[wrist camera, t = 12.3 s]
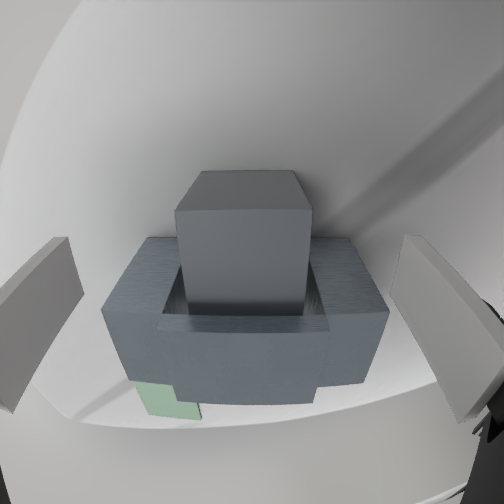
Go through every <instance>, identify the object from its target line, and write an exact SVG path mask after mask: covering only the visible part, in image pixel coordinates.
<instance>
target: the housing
mask: <svg viewBox="0 0 504 504" xmlns="http://www.w3.org/2000/svg"><path fill="white" fill-rule="evenodd" d="M101 311H102V314H103V317H104V320H105V322H106V325H107V328H108V330H109V333H110V336H111V338H112V341H113V343H114V346H115V348H116V351H117V353H118V356H119V358H120V360H121V363H122V365H123V367H124V370H125V372H126V374H127V376H128V379H129V380H131V381H138V382H146V383H155V384H164V385H172V386H173V389H174V392H175V395H176V398H177V401H180V402H192V403H207V404H229V405H283V404H305V403H313V400H314V396H315V393H316V389H317V387H327V386H339V385H349V384H359V383H363V382H364V380H365V377H366V375H367V373H368V370H369V368H370V365H371V363H372V360H373V358H374V355H375V353H376V350H377V347H378V345H379V342H380V339H381V337H382V334H383V331H384V328H385V325H386V322H387V319H388V316H389V313H390V311H389V309H388V307H387V305H386V303H385V301H384V299H383V298H382V296H381V294H380V292H379V290H378V288H377V287H376V285H375V283H374V281H373V279H372V278H371V276H370V274H369V272H368V271H367V269H366V267H365V266H364V264H363V262H362V260H361V259H360V257H359V255H358V254H357V252H356V250H355V249H354V247H353V245H352V244H351V242H350V240H349V239H348V238H311V239H310V250H309V262H308V272H307V282H306V292H305V301H304V310H303V316H213V315H189V311H188V305H187V299H186V293H185V286H184V280H183V273H182V266H181V260H180V252H179V245H178V237H161V238H146V240H145V241H144V243H143V244H142V246H141V247H140V249H139V250H138V252H137V253H136V255H135V256H134V258H133V259H132V261H131V262H130V264H129V265H128V267H127V268H126V270H125V271H124V273H123V274H122V276H121V278H120V279H119V281H118V282H117V284H116V285H115V287H114V289H113V290H112V292H111V294H110V295H109V297H108V298H107V300H106V302H105V303H104V305H103V307H102V308H101Z"/></svg>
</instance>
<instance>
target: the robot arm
mask: <svg viewBox="0 0 504 504" xmlns="http://www.w3.org/2000/svg"><path fill="white" fill-rule="evenodd" d="M83 295H84V291H83V288H82V285H81V282H80V279H79V275H78V272H77V269H76V265H75V262H74V258H73V255H72V251H71V247H70V243H69V239H68V237H54V238H52V239H51V240H50V241H49V242H48V243H47V244H46V245H45V246H43V247H42V248H41V249H40V250H39V251H38V252H37V253H36V254H35V255H34V256H33V257H31V258H30V259H29V260H28V261H27V262H26V263H25V264H24V265H23V266H22V267H21V268H20V269H19V270H18V271H17V272H16V273H15V274H14V275H13V276H12V277H11V278H10V279H9V280H8V281H7V282H6V283H5V284H4V285H3V286H2V287H1V288H0V408H1V409H3V410H5V411H7V412H9V413H12V414H13V412H14V410H15V408H16V406H17V404H18V402H19V400H20V398H21V396H22V395H23V393H24V391H25V389H26V387H27V385H28V383H29V382H30V380H31V378H32V376H33V374H34V373H35V371H36V369H37V367H38V366H39V364H40V362H41V360H42V359H43V357H44V355H45V354H46V352H47V350H48V349H49V347H50V345H51V344H52V342H53V341H54V339H55V337H56V336H57V334H58V333H59V331H60V329H61V328H62V326H63V325H64V323H65V322H66V320H67V319H68V317H69V316H70V314H71V313H72V311H73V310H74V308H75V307H76V305H77V304H78V302H79V301H80V299H81V298H82V297H83ZM389 295H390V296H391V298H392V300H393V301H394V303H395V304H396V306H397V308H398V310H399V311H400V313H401V315H402V316H403V318H404V320H405V321H406V323H407V325H408V327H409V328H410V330H411V332H412V334H413V335H414V337H415V339H416V341H417V343H418V344H419V346H420V348H421V350H422V352H423V353H424V355H425V357H426V359H427V361H428V363H429V365H430V367H431V369H432V370H433V372H434V374H435V376H436V378H437V380H438V382H439V384H440V386H441V388H442V390H443V392H444V394H445V396H446V398H447V401H448V403H449V405H450V407H451V409H452V411H453V413H454V416H455V418H456V420H457V422H458V424H460V423H462V422H465V421H467V420H470V419H473V418H475V417H477V415H478V414H479V413H480V412H481V411H482V410H483V408H484V407H485V406H486V405H487V407H488V408H489V410H490V412H489V413H488V414H487V415H486V416H485V417H484V418H483V420H482V421H481V422H480V423H479V424H478V425H477V426H476V427H475V428H474V430H473V433H472V434H475V433H477V431H478V430H479V429H480V428H481V427H483V429H482V432H481V433H480V434H479V436H480V437H481V438H480V442H479V446H478V450H477V454H476V457H475V461H474V464H473V468H472V471H471V474H470V477H469V480H468V483H467V486H466V489H465V492H464V495H463V497H462V500H461V503H460V504H504V320H503V319H502V318H500V315H499V314H498V313H497V312H496V310H495V309H494V308H493V307H492V306H491V305H490V304H488V303H487V302H486V301H484V300H483V299H481V298H480V296H479V295H478V294H477V293H476V292H475V291H474V290H473V289H472V287H471V286H470V285H469V284H468V283H467V282H466V281H465V280H464V279H463V278H462V277H461V276H460V275H459V273H458V272H457V271H456V270H455V269H454V268H453V267H452V266H451V265H450V264H449V263H448V262H447V261H446V260H445V259H444V258H443V257H442V256H441V255H440V254H439V253H438V252H437V251H436V250H435V249H434V248H433V247H432V246H431V245H430V244H429V243H428V242H427V241H426V240H425V239H424V238H422V237H421V236H420V235H404V238H403V243H402V247H401V251H400V256H399V260H398V264H397V268H396V272H395V275H394V279H393V283H392V287H391V290H390V294H389ZM0 504H11V502H10V499H9V496H8V493H7V489H6V486H5V482H4V479H3V475H2V471H1V467H0Z"/></svg>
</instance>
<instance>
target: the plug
mask: <svg viewBox="0 0 504 504" xmlns="http://www.w3.org/2000/svg"><path fill="white" fill-rule="evenodd" d="M174 212H175V221H176V229H177V237H178V245H179V252H180V260H181V266H182V273H183V280H184V286H185V293H186V299H187V305H188V311H189V315H213V316H303V310H304V301H305V292H306V282H307V272H308V262H309V250H310V239H311V226H312V212H313V209H312V207H311V205H310V203H309V201H308V199H307V197H306V196H305V194H304V192H303V190H302V188H301V186H300V184H299V182H298V180H297V178H296V176H295V175H294V173H293V171H292V170H234V171H202V172H201V173H200V175H199V176H198V177H197V179H196V180H195V182H194V183H193V184H192V186H191V187H190V189H189V190H188V192H187V193H186V195H185V196H184V198H183V199H182V200H181V202H180V203H179V205H178V206H177V208H176V209H175V211H174Z"/></svg>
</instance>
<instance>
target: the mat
mask: <svg viewBox="0 0 504 504" xmlns="http://www.w3.org/2000/svg"><path fill="white" fill-rule="evenodd" d="M133 383H134V385H135V387H136V389H137V391H138V394H139V396H140V398H141V400H142V402H143V404H144V406H145V408H146V410H147V412H148V414H149V415H155V416H163V417H172V418H181V419H192V420H201V414H200V410H199V406H198V403H192V402H180V401H177V398H176V395H175V392H174V389H173V386H172V385H164V384H155V383H146V382H138V381H133Z"/></svg>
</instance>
